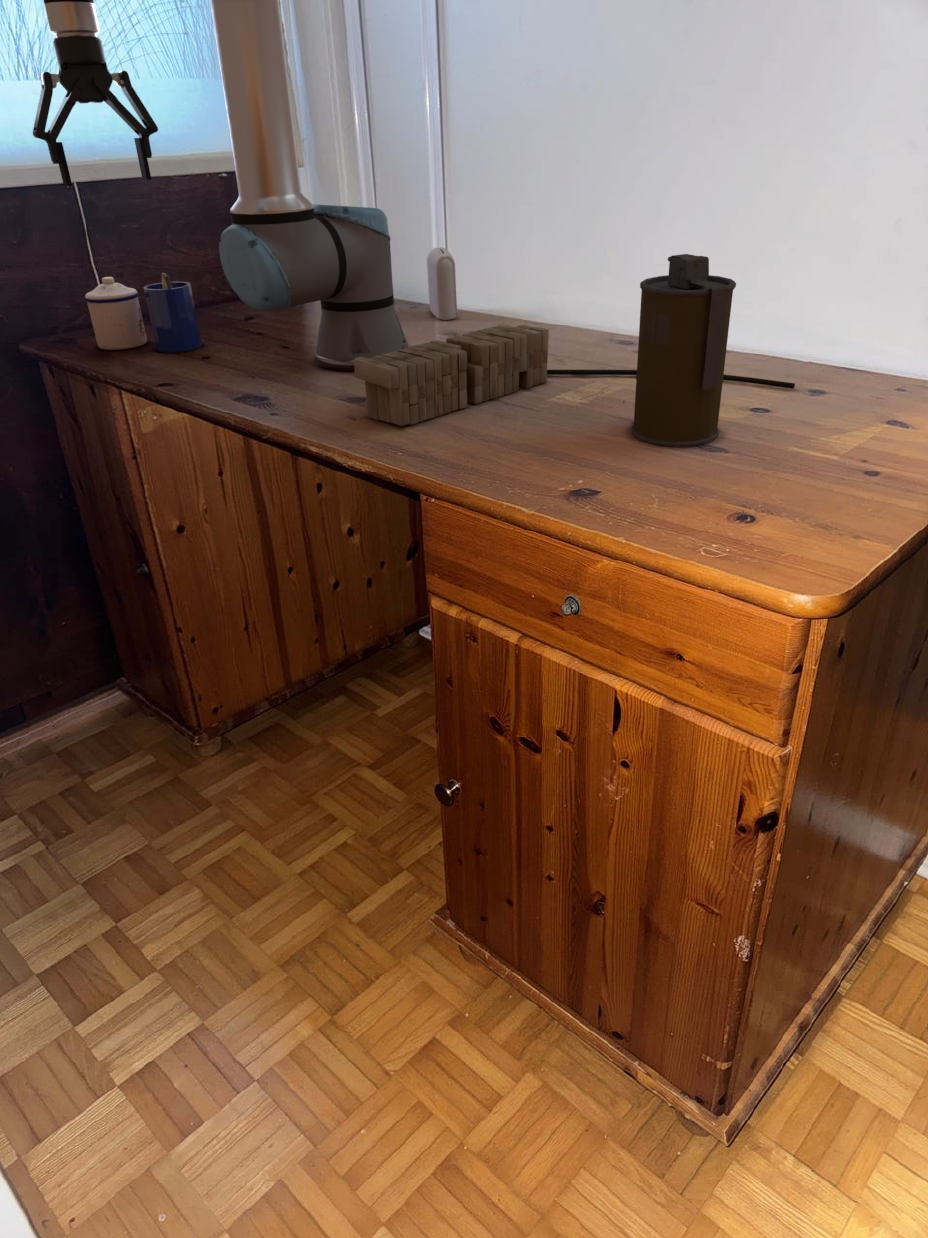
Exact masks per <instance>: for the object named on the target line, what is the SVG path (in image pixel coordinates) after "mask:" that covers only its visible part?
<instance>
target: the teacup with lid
mask: <svg viewBox="0 0 928 1238" xmlns="http://www.w3.org/2000/svg"><path fill="white" fill-rule="evenodd" d="M101 282H102V283H101V284H98V285H97V286H96V287H95V288H93V290H91V291H89V292H87V293H85V295H84V301H85V302H87V307H88V308H87V309H88V311H89V312H88V313H89V315H90V319H91V325H92V328H93V332H94V336H95V340H96V345H97V347H98V348H99V349H101V350H104V351H122V350H129V349H134V348H139V347H141V346H144V345H145V344H147V342H148V338H147V333H146V328H145V324H144V320H143V315H142V310H141V305H140V302H139V296H140V294H139V292H138V290H136V288H133V287H128V286H126V285H124V284H122V283H119V282H115V278H114V277H113V276H105V277H102V278H101Z"/></svg>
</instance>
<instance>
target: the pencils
mask: <svg viewBox="0 0 928 1238" xmlns="http://www.w3.org/2000/svg"><path fill="white" fill-rule="evenodd" d="M171 282H172V281H171V279H170V277H169V275H167V273H165V272H162V273H161V283H162V286H163V289H171V288H172V285H171Z"/></svg>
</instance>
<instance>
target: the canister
mask: <svg viewBox="0 0 928 1238" xmlns="http://www.w3.org/2000/svg"><path fill="white" fill-rule="evenodd" d="M667 261H668V263H669V265H668V274H667V275H659V276H653V277H648V278H645V279H644V280H642V281H640V284H639V288H640V290H641V292H640V293H641V295H640V308H639V309H640V312H639V313H640V314H639V329H638V347H637V362H636V370H637V375H636V379H635V394H634V413H633V414H634V415H633V425H631V426H632V427H631V429H630V432H631V434H632V436H633V437H634V438H636V439H637V440H639V441H642V442H644V443H646V444H647V443H648V444H651V445H654V446H659V447H669V448H679V447H680V448H684V447H696V446H702V445H705V444H709V443H711V442H713V441H715V440H716V439H717V438H718V437H719V435H720V430H719V418H720V409H721V400H722V391H723V382H724V380H723V375H725V374H724V373H725V366H726V356H727V355H726V354H727V347H728V338H729V329H730V321H731V320H730V319H731V312H732V311H731V310H732V303H733V294H734V290H735V288H736V287H737V283H736V281H735V280H733V279H732V278H728V277H724V276H720V275H710V258H709V257H708V256H705V255H695V254H689V253H682V254H674V255H671V256H670V255H669V256H668V257H667Z"/></svg>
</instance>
